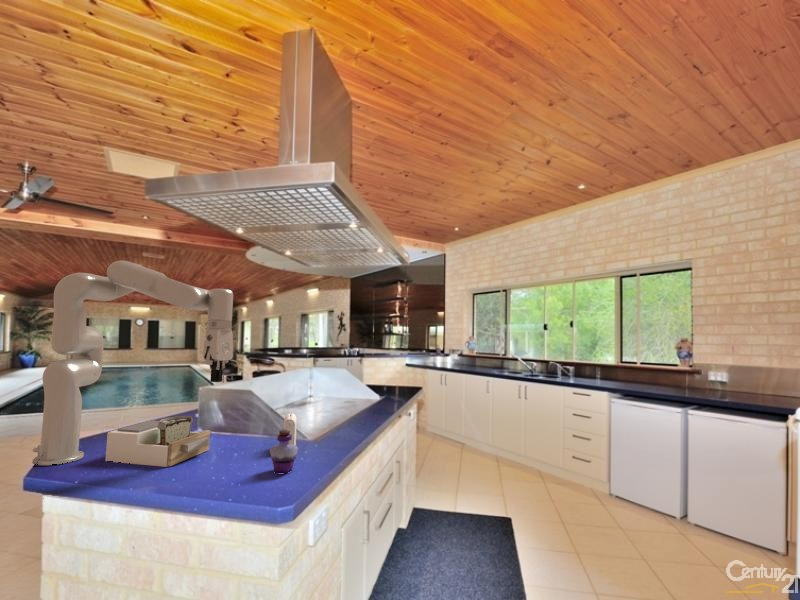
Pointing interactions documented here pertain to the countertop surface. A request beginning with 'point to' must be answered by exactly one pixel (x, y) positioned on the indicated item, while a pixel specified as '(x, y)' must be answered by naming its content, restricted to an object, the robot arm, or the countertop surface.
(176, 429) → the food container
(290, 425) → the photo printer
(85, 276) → the robot arm
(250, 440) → the countertop surface
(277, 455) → the potion bottle
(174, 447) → the sliding tray
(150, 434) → the dock
